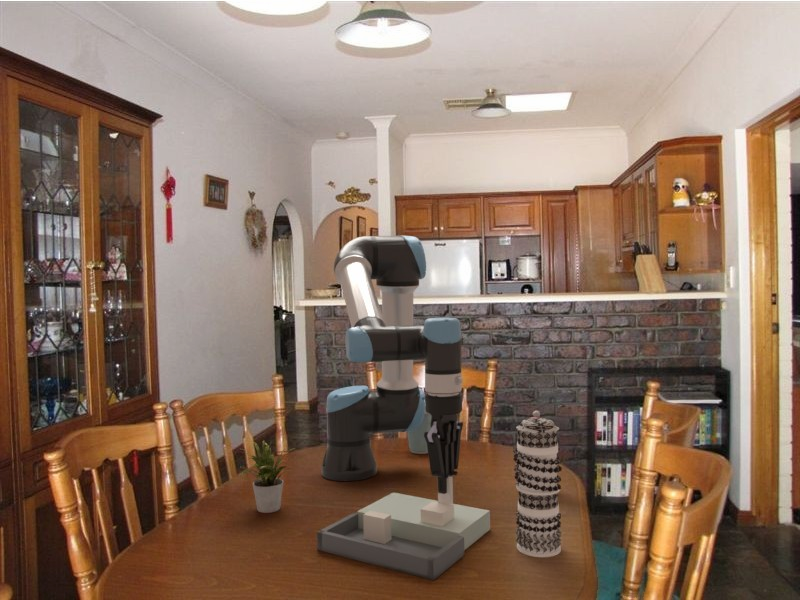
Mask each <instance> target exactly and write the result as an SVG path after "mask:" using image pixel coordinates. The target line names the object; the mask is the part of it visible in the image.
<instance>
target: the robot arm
mask: <svg viewBox="0 0 800 600" xmlns="http://www.w3.org/2000/svg"><path fill="white" fill-rule="evenodd" d="M333 273H334V277H335V279H336V282H337V283H338V284H339V285H340V286H341V289H342V290H341V291H342V293H343V298H344V302H345V307H346V311H347V315H348V318H349V322H350V327H349V328H347V329H346V331H345V337H344V338H345V339H344V342H345V352H346V353H345V354H346V357H347V359H348V361H350V362H352V363H375V362H381V378H380V379H379V380H378V381H377V382H376V389H375V390H370V388H369V387H368V386H367V385H364V384H363V385H352V386H345V387H341V388H337V389H335V390H333V391H330V392H329V393H328V395H327V398H326V408H325V413H326V425H327V426H326V433H327V434H326V436H327V437H326V439H327V440H326V441H327V444H326V446H327V447H326V450H325V453H324V457H323V460H322V464H321V476H322V477H323V478H325V479H327V480H331V481H337V482H338V481H340V482H353V481H354V482H355V481H360V480H361V481H362V480H365V479H369V478H371V477H373V476H375V475H376V474H377V472H378V464H377V462H376V458H375V455H374V452H373V449H372V446H371V434H387V433H388V434H389V433H407V431H413V430H416V429H418V428H419V427H420V425H421V424H422V422H423V418H424V413H425V406H426V412H427V413H430V414H431V416H432V418H431V423H430V425H431V429H430V431H429V432H425V433H424V438H425V440H426V443H427V448H428V453H427V454H428V461H429V467H430V474H431V476H432V477H435V478H437V501H438V503H442V504H447V505H453V504H454V485H453V483H454V482H453V481H454V480H453V479H454V478H453V476H457V475H458V473H459V472H458V471H457V470H458V469H459V463H460V461H459V460H460V451H461V450H460V448H461V438H462V432H463V431H462V430H463V427H464V422H463V421H459V420H458V414H461V412H462V411H463V396H462V395H463V394H461V392H462V389H463V388H462V383H463V382H464V379H463V377H462V337H463V335H462V330H461V329H462V328H461V322H460V320H459V318H457V317H430V318H426V319H425V321H424V323H422V324H417V325H416V324H415V325H414V293H415V291H416V290H417V289H418V288H419V287H420V280H423V279H424V278H426V274H427V261H426V253H425V250H424V247H423V243H422V241H421V240H420V239H419V238H418V237H417V236H411V235H403V234H402V235H364V236H363V235H362V236H358V237H357V236H356V238H353V239H351V240H350V241H348V242H347V243H345V244H344V245H343V246H342V248H340V250H339V251H338V253H337V254H336V257H335V260H334V261H333ZM373 280H376V281H375V282H376V283H375V287H377V288H378V290H380V291H381V306H380V303H379V301H378V297H377V293H376V291H375V287H374V285H373ZM415 360H417V361H418V360H424V390H423V389H422V388H420V387H419V382H418V381H417V380H416V379H415V378H414V361H415ZM424 391H425V392H426V393H427V394H425V392H424Z"/></svg>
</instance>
